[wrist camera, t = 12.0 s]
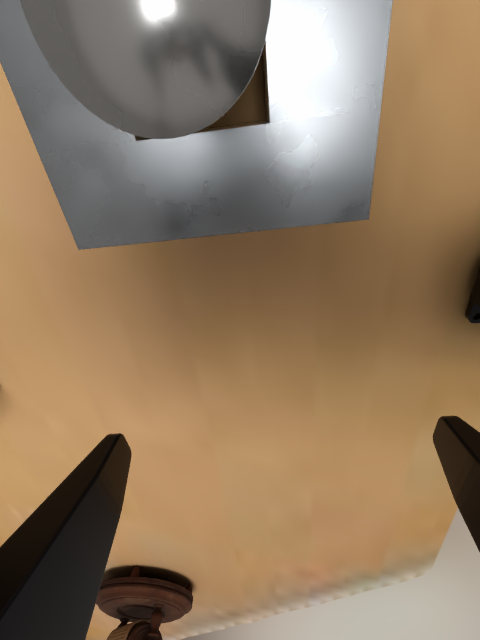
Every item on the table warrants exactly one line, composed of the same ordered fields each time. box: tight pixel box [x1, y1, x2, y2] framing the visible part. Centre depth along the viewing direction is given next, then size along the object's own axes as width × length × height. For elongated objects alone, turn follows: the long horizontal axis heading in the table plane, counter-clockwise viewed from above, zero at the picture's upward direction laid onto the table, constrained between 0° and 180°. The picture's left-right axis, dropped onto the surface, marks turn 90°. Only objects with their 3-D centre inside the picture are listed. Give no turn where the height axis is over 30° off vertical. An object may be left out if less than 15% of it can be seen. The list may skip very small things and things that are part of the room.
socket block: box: [0, 0, 393, 250], centre depth 12 cm, size 14×14×3 cm
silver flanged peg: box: [20, 0, 271, 139], centre depth 10 cm, size 5×5×9 cm
